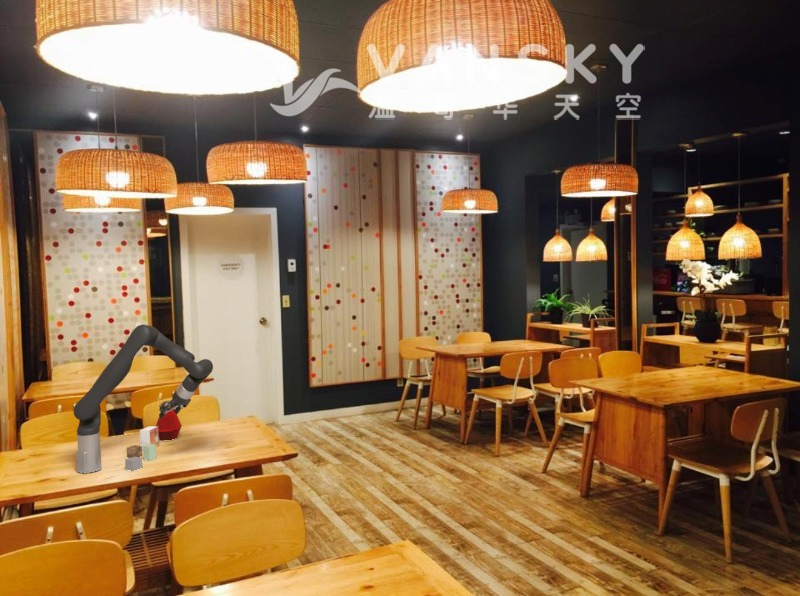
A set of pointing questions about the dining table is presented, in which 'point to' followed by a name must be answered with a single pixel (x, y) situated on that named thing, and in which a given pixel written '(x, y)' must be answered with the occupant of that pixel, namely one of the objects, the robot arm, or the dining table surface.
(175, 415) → the bottle
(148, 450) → the sage block
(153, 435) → the small box
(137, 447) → the walnut block
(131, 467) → the grey cube
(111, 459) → the dining table surface
